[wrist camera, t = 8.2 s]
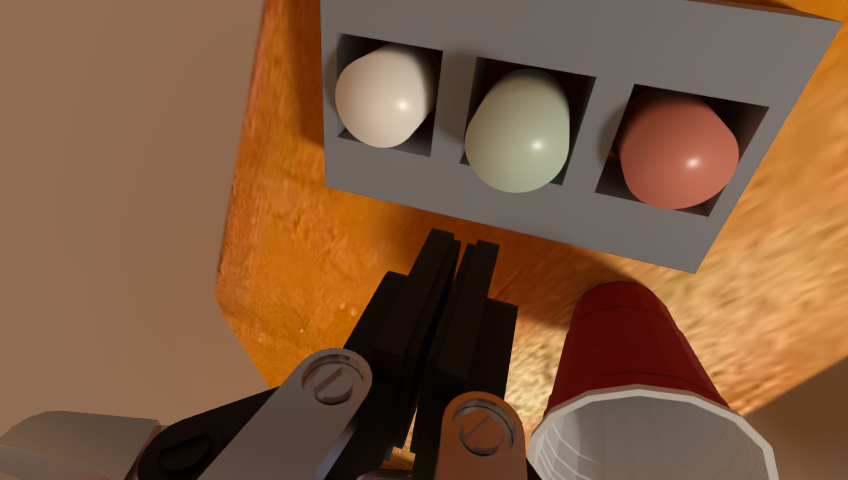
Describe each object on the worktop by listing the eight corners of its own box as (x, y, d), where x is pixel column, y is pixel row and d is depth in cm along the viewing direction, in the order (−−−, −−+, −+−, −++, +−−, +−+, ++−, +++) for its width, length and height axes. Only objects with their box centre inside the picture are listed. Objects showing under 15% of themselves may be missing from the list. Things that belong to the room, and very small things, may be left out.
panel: (354, -51, 23) (318, -51, 20) (798, 10, 19) (843, 22, 16) (352, 160, 30) (325, 186, 27) (679, 234, 26) (694, 273, 23)
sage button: (491, 61, 22) (473, 85, 18) (581, 77, 21) (583, 105, 17) (476, 144, 24) (458, 181, 21) (556, 161, 24) (552, 202, 20)
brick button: (633, 77, 22) (645, 105, 18) (726, 94, 21) (760, 125, 18) (603, 158, 25) (609, 197, 21) (686, 175, 24) (708, 218, 20)
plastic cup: (754, 309, 28) (852, 503, 18) (625, 388, 34) (647, 562, 24) (614, 215, 27) (639, 364, 17) (509, 313, 33) (484, 463, 24)
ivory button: (372, 33, 24) (334, 49, 21) (448, 46, 24) (424, 65, 20) (369, 111, 27) (335, 138, 23) (438, 125, 26) (415, 155, 22)
